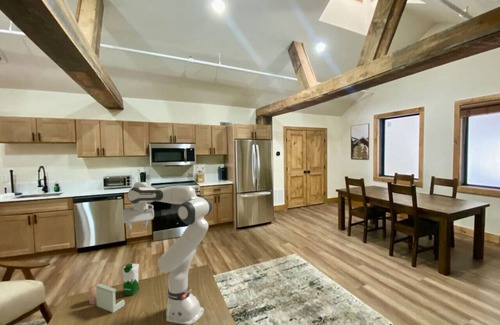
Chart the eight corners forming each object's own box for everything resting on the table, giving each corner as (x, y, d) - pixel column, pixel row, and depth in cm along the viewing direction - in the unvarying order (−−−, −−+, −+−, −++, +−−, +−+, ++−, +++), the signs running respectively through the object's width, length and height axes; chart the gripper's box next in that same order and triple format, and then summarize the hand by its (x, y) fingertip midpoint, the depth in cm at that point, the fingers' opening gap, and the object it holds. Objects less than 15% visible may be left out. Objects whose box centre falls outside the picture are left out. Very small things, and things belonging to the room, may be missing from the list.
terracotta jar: (102, 299, 146) (102, 286, 145) (93, 305, 140) (92, 291, 140) (96, 297, 148) (96, 284, 148) (87, 302, 143) (86, 289, 142)
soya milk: (120, 295, 150) (120, 266, 149) (129, 287, 159) (128, 259, 158) (133, 296, 149) (132, 267, 148) (141, 288, 158) (140, 260, 157)
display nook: (124, 304, 141) (124, 284, 140) (113, 312, 134) (112, 291, 133) (108, 298, 147) (107, 279, 146) (96, 306, 140) (95, 285, 139)
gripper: (125, 208, 138) (124, 231, 137) (155, 205, 155) (154, 226, 154) (120, 207, 142) (119, 230, 140) (150, 205, 159) (149, 225, 157)
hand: (138, 228), depth 147 cm, fingers open, 8 cm apart
